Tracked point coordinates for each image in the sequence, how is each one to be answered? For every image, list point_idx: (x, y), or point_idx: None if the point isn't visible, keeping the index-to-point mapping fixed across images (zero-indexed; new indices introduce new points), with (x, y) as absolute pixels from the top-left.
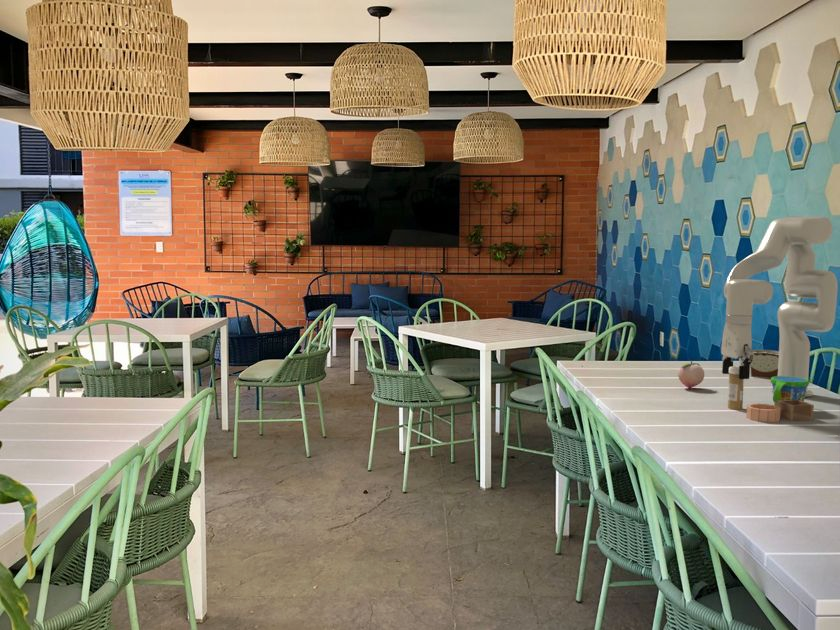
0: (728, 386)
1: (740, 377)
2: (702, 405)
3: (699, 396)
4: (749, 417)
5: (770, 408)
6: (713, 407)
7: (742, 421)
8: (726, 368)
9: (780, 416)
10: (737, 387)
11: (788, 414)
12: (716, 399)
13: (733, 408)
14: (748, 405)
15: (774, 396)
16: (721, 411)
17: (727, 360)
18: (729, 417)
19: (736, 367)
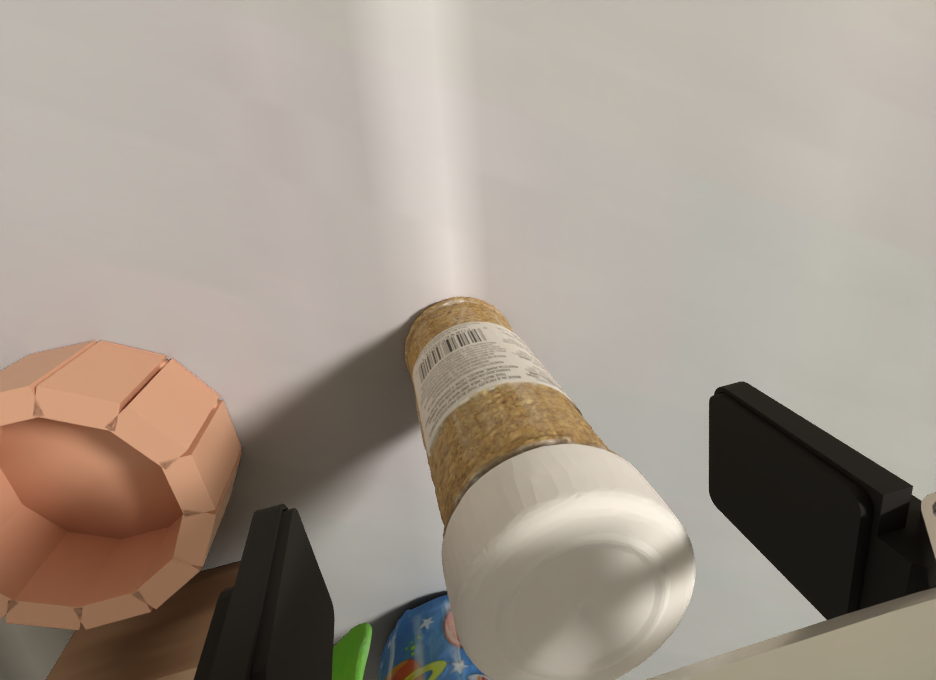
0: (517, 364)
1: (257, 531)
2: (628, 140)
3: (924, 222)
4: (34, 360)
5: (159, 561)
6: (553, 211)
7: (18, 292)
8: (762, 466)
9: (213, 578)
10: (426, 438)
11: (98, 633)
12: (812, 316)
13: (415, 331)
14: (87, 409)
15: (350, 662)
16: (405, 231)
17: (887, 571)
18: (165, 228)
19: (576, 604)
